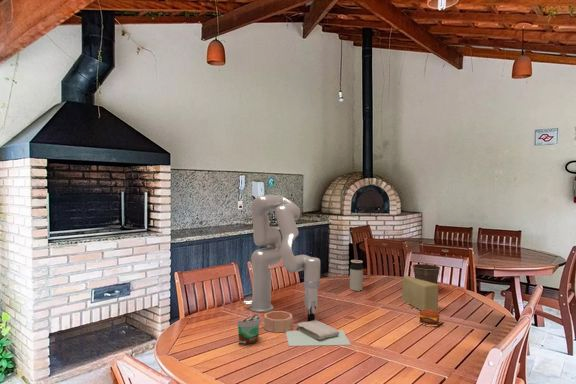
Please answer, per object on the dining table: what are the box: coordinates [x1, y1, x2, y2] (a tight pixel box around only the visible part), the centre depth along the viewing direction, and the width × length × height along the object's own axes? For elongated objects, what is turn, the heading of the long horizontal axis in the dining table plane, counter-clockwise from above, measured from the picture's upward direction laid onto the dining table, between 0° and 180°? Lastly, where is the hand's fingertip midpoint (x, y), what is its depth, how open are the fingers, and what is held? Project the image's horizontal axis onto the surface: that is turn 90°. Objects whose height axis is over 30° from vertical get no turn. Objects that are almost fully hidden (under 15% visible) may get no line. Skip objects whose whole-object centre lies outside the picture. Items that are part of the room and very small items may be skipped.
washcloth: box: [295, 319, 339, 340], centre depth 179 cm, size 12×18×3 cm, turn 35°
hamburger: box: [417, 309, 441, 325], centre depth 193 cm, size 9×10×7 cm
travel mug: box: [349, 259, 364, 292], centre depth 250 cm, size 8×8×18 cm
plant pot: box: [412, 263, 441, 284], centre depth 247 cm, size 16×16×16 cm
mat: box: [285, 329, 352, 347], centre depth 173 cm, size 26×16×1 cm, turn 95°
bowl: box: [263, 310, 293, 334], centre depth 184 cm, size 13×13×6 cm
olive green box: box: [401, 275, 439, 312], centre depth 219 cm, size 22×10×15 cm, turn 25°
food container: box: [236, 313, 262, 346], centre depth 167 cm, size 12×6×10 cm, turn 148°
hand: (311, 322), depth 190 cm, fingers closed
